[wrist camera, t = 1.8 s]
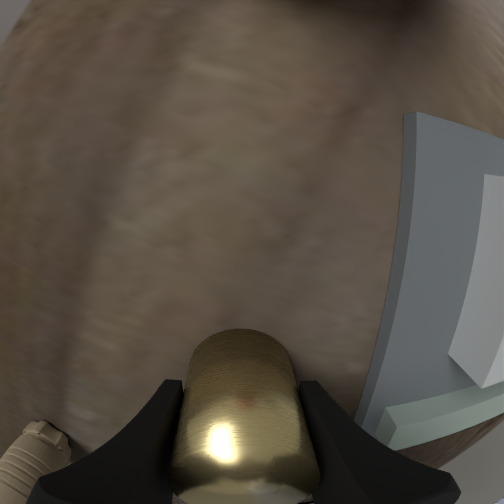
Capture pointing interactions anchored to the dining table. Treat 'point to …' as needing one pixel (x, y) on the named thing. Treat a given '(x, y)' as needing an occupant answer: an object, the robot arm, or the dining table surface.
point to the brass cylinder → (242, 426)
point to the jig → (441, 290)
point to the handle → (31, 461)
